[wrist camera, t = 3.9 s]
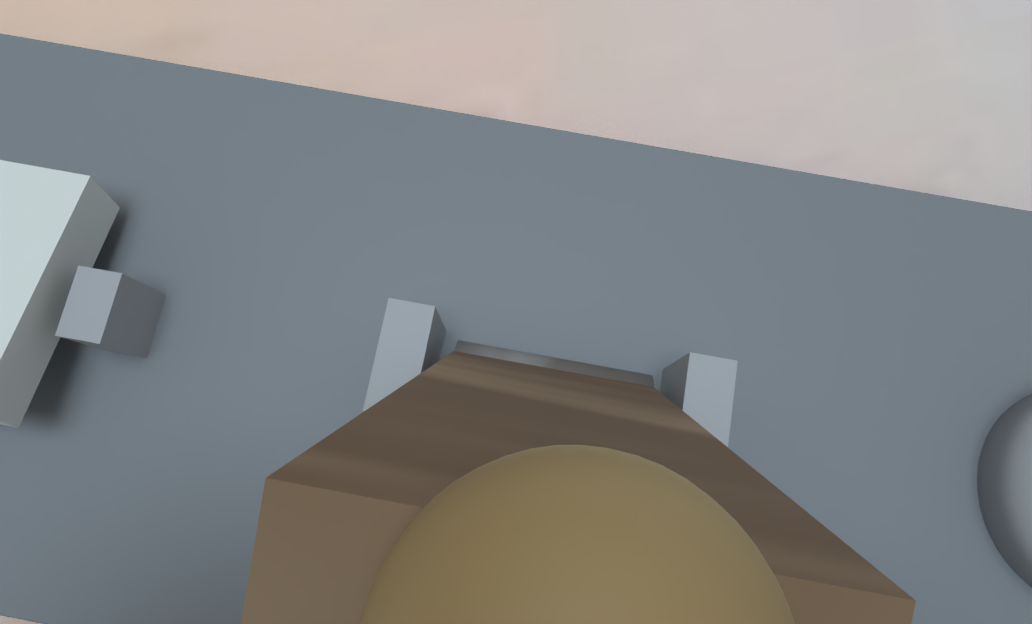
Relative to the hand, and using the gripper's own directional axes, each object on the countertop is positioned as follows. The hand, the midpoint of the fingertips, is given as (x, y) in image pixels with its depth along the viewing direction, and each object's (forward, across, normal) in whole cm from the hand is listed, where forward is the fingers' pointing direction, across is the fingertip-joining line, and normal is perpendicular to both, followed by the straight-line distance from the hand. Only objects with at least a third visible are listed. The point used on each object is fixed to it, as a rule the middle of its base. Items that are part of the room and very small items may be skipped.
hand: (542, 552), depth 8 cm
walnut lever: (+7, 0, +3) cm, 7 cm away
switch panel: (+9, 0, +5) cm, 10 cm away
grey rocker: (+7, +13, +3) cm, 15 cm away
